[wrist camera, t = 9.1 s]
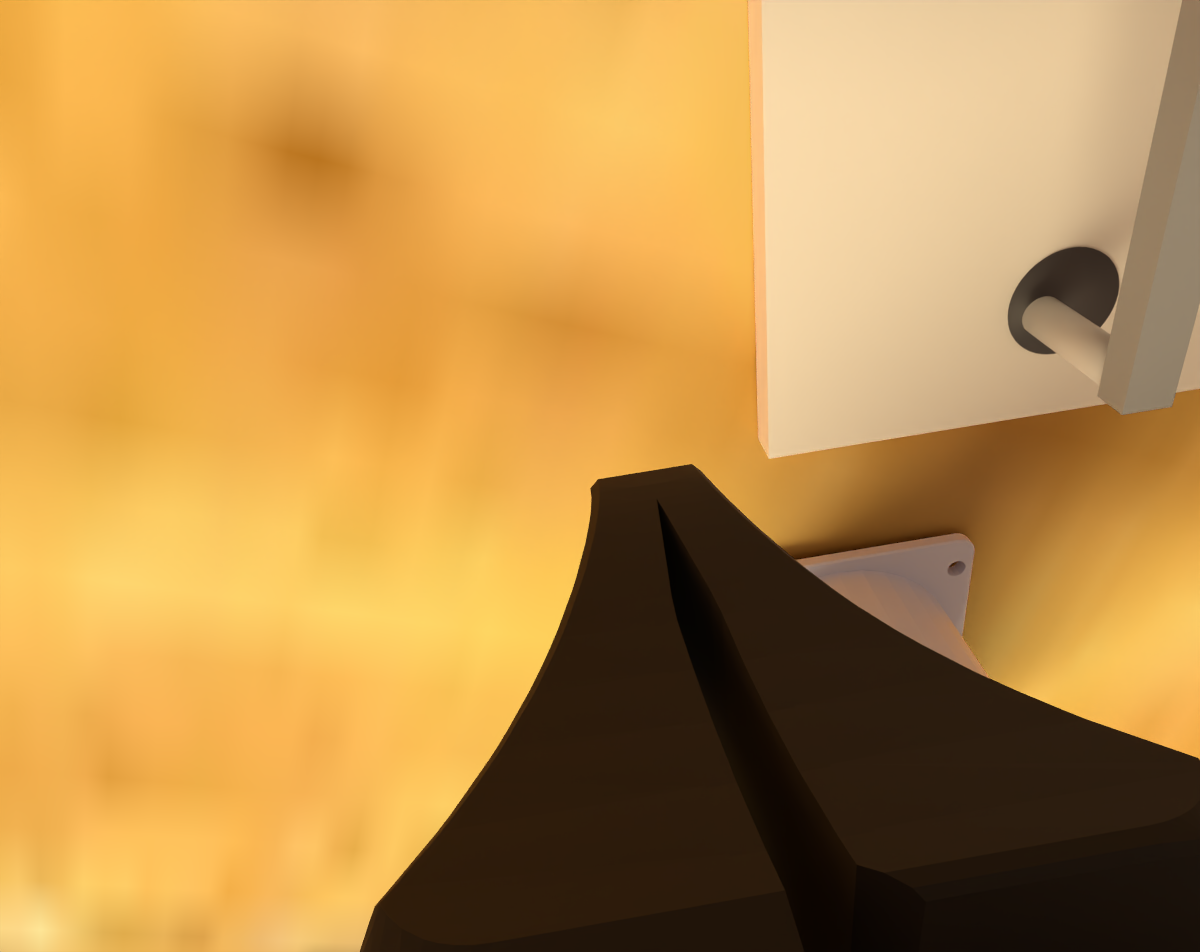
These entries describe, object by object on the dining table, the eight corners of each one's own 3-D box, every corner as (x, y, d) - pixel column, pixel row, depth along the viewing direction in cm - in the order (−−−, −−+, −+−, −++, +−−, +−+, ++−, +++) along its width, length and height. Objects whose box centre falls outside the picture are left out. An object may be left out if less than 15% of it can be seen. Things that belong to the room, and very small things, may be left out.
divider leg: (1101, 323, 20) (1236, 410, 17) (975, 343, 20) (1082, 436, 17) (1239, -340, 14) (1501, -431, 10) (1057, -316, 14) (1258, -399, 10)
